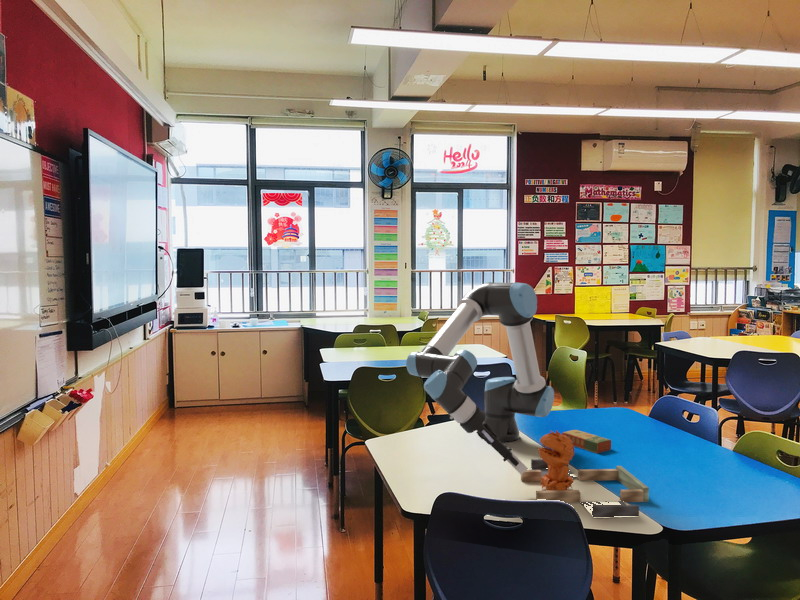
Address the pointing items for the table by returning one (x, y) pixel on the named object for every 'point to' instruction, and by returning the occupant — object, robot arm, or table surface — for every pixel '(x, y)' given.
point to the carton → (588, 441)
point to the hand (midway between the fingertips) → (523, 470)
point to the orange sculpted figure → (556, 461)
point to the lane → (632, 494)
